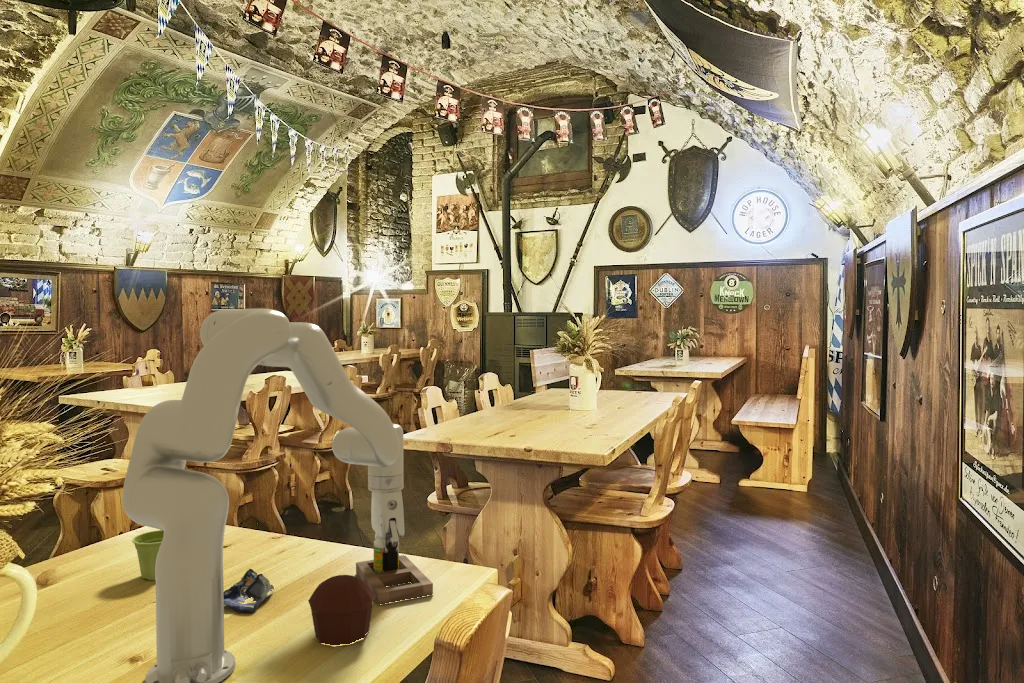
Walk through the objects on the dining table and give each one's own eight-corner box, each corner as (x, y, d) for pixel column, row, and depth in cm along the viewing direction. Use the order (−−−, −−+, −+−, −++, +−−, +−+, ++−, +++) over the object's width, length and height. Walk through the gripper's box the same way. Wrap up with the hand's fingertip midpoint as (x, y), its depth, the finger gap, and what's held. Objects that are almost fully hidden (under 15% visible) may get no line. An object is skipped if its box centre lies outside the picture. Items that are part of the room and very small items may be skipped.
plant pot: (181, 579, 146) (180, 539, 146) (131, 586, 142) (130, 545, 142) (181, 565, 154) (181, 527, 154) (134, 572, 150) (133, 533, 150)
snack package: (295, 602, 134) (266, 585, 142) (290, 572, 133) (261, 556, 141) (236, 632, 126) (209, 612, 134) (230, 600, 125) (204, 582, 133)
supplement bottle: (369, 577, 144) (369, 531, 144) (380, 568, 150) (379, 524, 149) (392, 579, 143) (392, 533, 143) (403, 570, 148) (402, 526, 148)
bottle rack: (432, 595, 136) (432, 583, 136) (378, 605, 131) (378, 593, 131) (404, 565, 153) (404, 554, 153) (356, 573, 149) (355, 562, 148)
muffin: (295, 636, 119) (295, 579, 118) (348, 615, 127) (348, 562, 127) (335, 657, 111) (335, 597, 111) (389, 634, 119) (388, 578, 119)
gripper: (415, 488, 140) (415, 575, 140) (391, 472, 155) (392, 551, 156) (379, 492, 137) (379, 581, 137) (359, 475, 152) (359, 556, 152)
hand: (386, 564), depth 146 cm, fingers closed on supplement bottle, 5 cm apart
